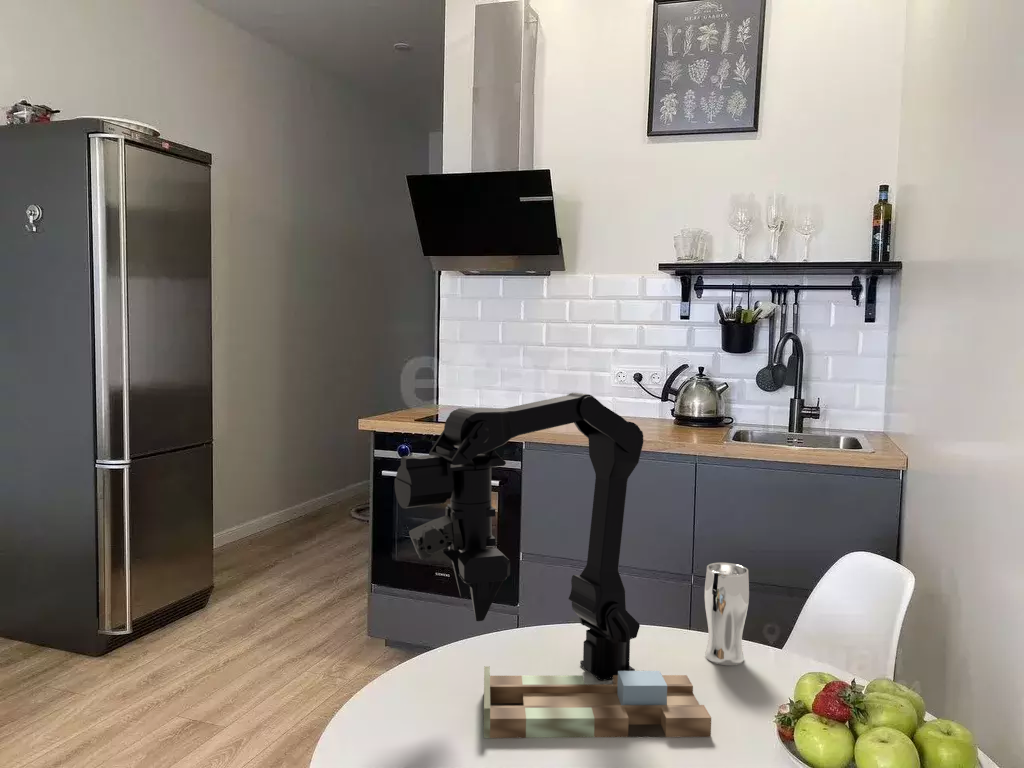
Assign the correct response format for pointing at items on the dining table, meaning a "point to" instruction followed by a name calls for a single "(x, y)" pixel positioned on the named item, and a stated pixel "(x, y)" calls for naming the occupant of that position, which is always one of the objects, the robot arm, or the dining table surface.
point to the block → (641, 688)
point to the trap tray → (586, 709)
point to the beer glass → (726, 612)
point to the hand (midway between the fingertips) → (471, 608)
